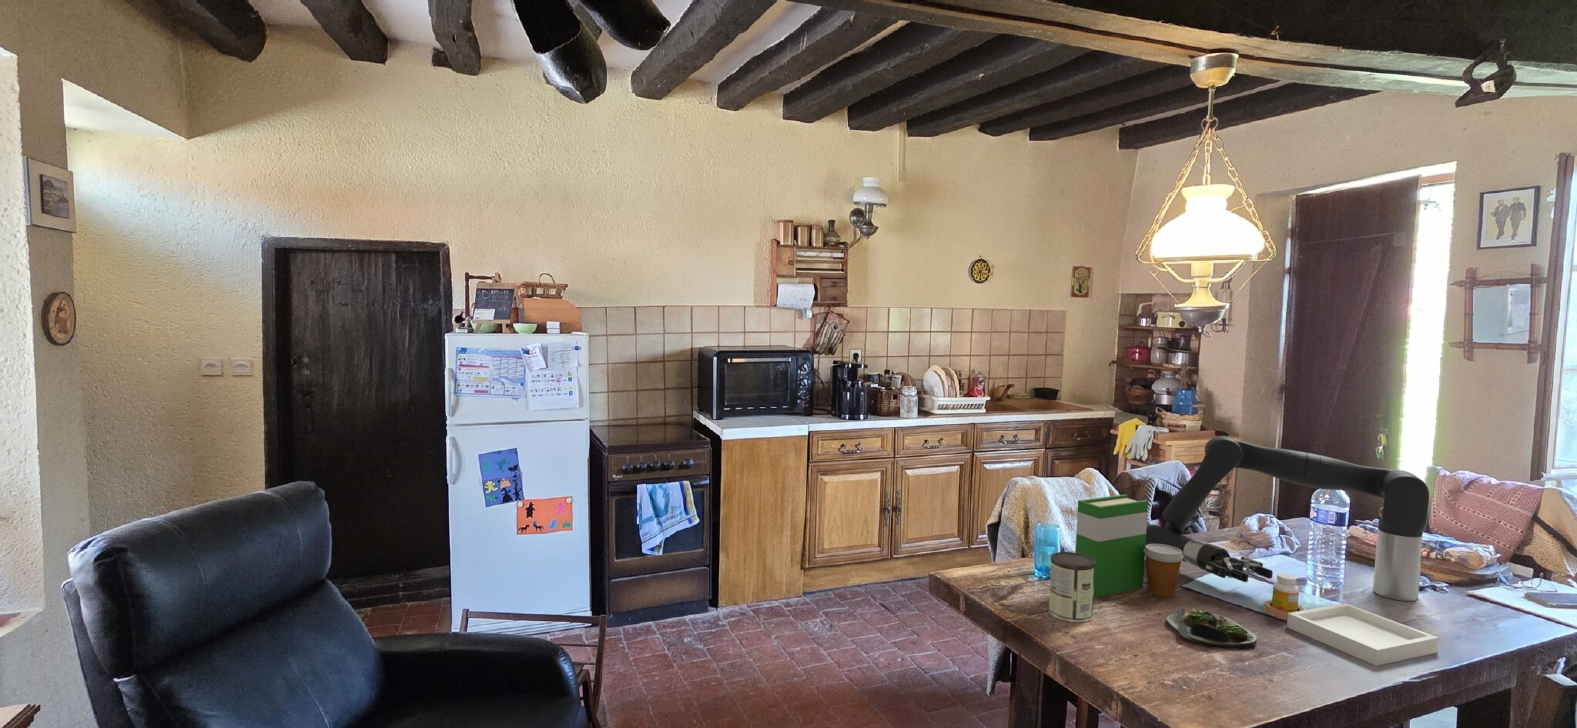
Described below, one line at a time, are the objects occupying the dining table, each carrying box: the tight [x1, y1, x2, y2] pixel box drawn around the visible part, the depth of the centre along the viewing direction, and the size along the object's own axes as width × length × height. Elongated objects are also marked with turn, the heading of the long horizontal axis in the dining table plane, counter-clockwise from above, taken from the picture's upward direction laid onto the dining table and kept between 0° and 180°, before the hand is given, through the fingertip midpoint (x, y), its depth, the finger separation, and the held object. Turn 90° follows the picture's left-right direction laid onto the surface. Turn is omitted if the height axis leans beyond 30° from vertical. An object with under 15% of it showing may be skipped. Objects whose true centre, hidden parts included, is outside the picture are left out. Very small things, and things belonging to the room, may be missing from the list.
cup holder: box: [1263, 599, 1306, 621], centre depth 187 cm, size 8×8×2 cm
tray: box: [1286, 602, 1439, 667], centre depth 173 cm, size 20×20×4 cm
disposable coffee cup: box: [1144, 544, 1184, 598], centre depth 199 cm, size 10×10×12 cm
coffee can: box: [1048, 551, 1096, 624], centre depth 185 cm, size 10×10×14 cm
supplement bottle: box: [1271, 572, 1300, 612], centre depth 187 cm, size 5×5×10 cm
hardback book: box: [1074, 494, 1149, 599], centre depth 202 cm, size 18×7×24 cm, turn 115°
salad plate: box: [1166, 606, 1258, 650], centre depth 177 cm, size 19×18×5 cm
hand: (1259, 576), depth 194 cm, fingers open, 8 cm apart
